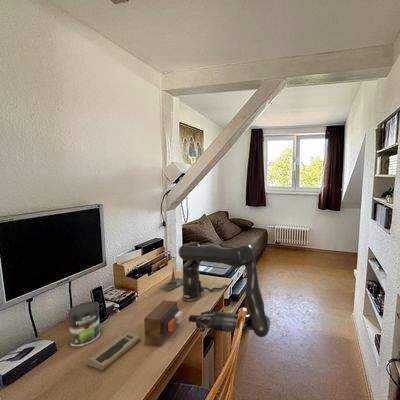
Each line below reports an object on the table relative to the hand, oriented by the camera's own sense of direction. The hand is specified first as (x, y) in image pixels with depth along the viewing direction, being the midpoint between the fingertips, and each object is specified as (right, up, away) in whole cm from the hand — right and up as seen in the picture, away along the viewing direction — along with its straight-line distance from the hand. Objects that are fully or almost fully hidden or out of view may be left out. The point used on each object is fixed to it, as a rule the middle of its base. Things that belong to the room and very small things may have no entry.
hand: (189, 318), depth 101 cm
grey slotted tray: (-26, -8, -12) cm, 30 cm away
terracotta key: (-6, -2, -5) cm, 8 cm away
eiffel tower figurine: (-27, -2, +46) cm, 53 cm away
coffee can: (-45, -7, -4) cm, 45 cm away
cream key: (-5, -2, +1) cm, 6 cm away
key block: (-12, -7, -1) cm, 14 cm away
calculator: (-52, -5, +19) cm, 56 cm away
